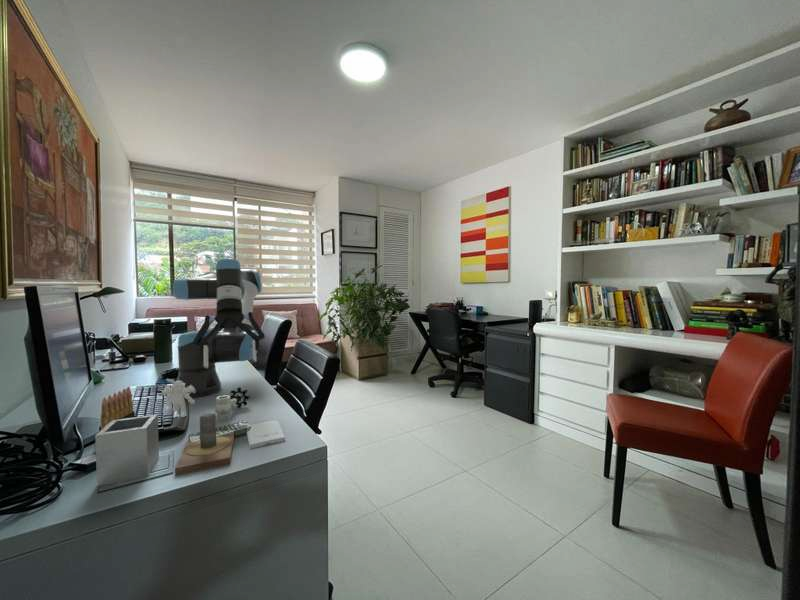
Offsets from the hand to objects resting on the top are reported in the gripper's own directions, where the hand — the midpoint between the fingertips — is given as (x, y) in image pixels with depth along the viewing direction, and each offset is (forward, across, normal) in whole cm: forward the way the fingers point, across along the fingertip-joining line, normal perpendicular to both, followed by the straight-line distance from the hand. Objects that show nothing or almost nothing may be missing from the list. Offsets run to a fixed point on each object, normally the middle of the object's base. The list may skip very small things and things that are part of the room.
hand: (231, 364), depth 100 cm
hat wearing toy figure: (+12, -15, +8) cm, 21 cm away
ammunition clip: (+16, -26, -2) cm, 31 cm away
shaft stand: (+25, -3, -17) cm, 30 cm away
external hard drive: (+24, +9, -12) cm, 28 cm away
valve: (+14, -1, +6) cm, 16 cm away
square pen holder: (+25, -17, -20) cm, 36 cm away
